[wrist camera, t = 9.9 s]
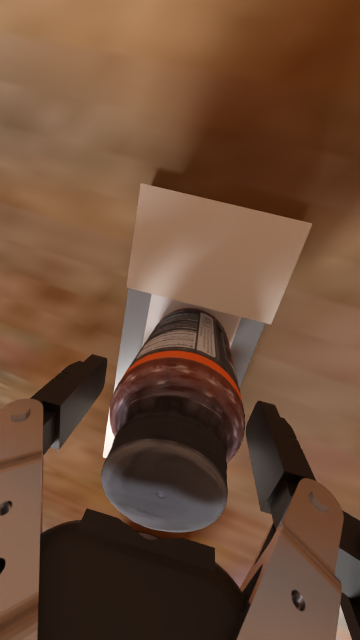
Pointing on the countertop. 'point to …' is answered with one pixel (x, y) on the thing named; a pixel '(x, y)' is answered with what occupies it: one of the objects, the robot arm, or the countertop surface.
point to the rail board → (206, 270)
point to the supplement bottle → (175, 426)
